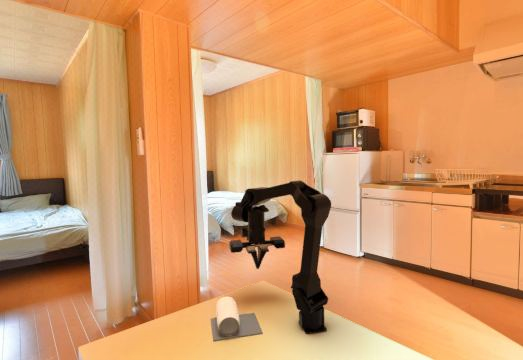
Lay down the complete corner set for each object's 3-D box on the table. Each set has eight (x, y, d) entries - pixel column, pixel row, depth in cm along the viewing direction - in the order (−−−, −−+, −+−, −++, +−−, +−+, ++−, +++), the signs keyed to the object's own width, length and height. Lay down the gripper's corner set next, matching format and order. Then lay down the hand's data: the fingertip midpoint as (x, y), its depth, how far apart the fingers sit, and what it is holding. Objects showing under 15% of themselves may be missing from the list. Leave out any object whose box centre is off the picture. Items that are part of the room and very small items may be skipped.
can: (239, 310, 99) (243, 331, 88) (220, 318, 98) (222, 341, 87) (231, 292, 98) (235, 312, 87) (212, 301, 97) (214, 322, 86)
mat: (254, 313, 100) (254, 312, 100) (262, 333, 88) (262, 332, 88) (210, 319, 97) (210, 318, 97) (213, 341, 85) (213, 340, 85)
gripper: (276, 217, 116) (277, 258, 117) (226, 221, 112) (228, 263, 113) (285, 224, 105) (285, 268, 106) (230, 228, 101) (232, 274, 102)
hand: (257, 268), depth 107 cm, fingers closed
